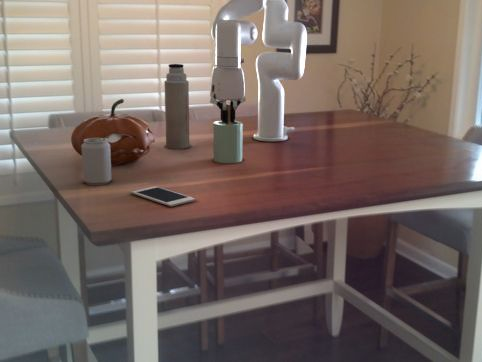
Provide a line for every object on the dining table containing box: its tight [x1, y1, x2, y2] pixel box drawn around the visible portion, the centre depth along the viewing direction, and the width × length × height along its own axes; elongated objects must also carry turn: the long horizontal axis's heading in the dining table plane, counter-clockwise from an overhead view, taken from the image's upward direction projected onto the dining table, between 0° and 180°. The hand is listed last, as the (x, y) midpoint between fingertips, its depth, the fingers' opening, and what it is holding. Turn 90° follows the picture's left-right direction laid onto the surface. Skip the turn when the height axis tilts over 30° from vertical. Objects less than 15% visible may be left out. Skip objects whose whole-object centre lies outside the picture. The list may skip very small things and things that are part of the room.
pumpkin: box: [70, 98, 156, 166], centre depth 204 cm, size 25×25×19 cm
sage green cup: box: [212, 120, 244, 164], centre depth 210 cm, size 9×9×12 cm
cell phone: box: [131, 186, 195, 208], centre depth 170 cm, size 8×16×1 cm, turn 48°
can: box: [81, 138, 112, 186], centre depth 181 cm, size 8×8×12 cm
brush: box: [225, 103, 231, 125], centre depth 209 cm, size 4×4×17 cm
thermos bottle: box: [164, 63, 190, 150], centre depth 226 cm, size 8×8×28 cm
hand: (227, 121), depth 209 cm, fingers closed on brush
